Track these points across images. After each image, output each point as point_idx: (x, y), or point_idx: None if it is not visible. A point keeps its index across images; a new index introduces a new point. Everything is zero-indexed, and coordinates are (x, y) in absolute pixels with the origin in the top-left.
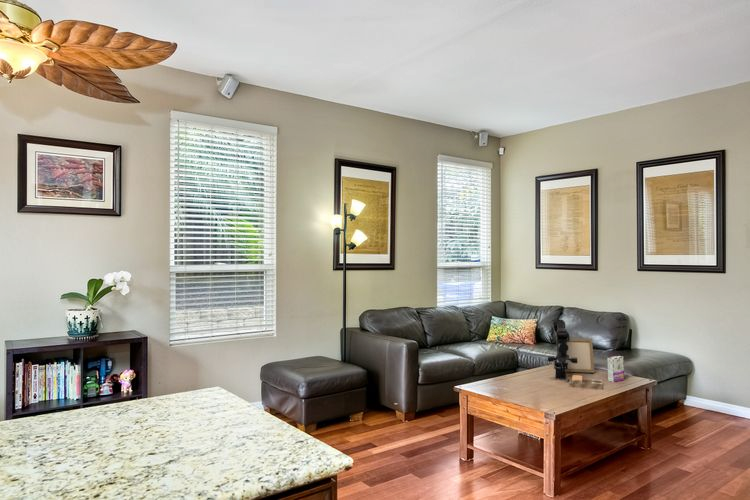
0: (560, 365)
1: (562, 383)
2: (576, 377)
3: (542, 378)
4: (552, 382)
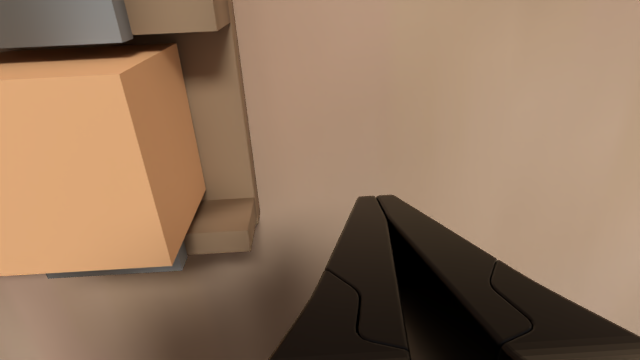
0: (563, 323)
1: (354, 158)
2: (14, 80)
3: (594, 301)
4: (494, 160)
